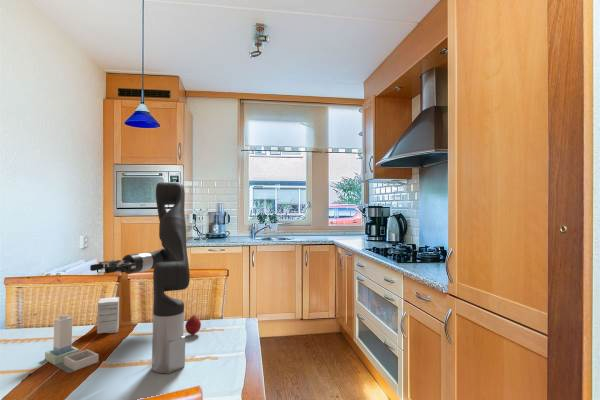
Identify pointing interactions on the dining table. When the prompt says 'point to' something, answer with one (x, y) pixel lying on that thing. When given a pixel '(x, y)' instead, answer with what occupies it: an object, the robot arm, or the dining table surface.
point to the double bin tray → (72, 359)
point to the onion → (193, 325)
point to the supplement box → (108, 315)
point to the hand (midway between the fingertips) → (98, 269)
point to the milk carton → (62, 335)
